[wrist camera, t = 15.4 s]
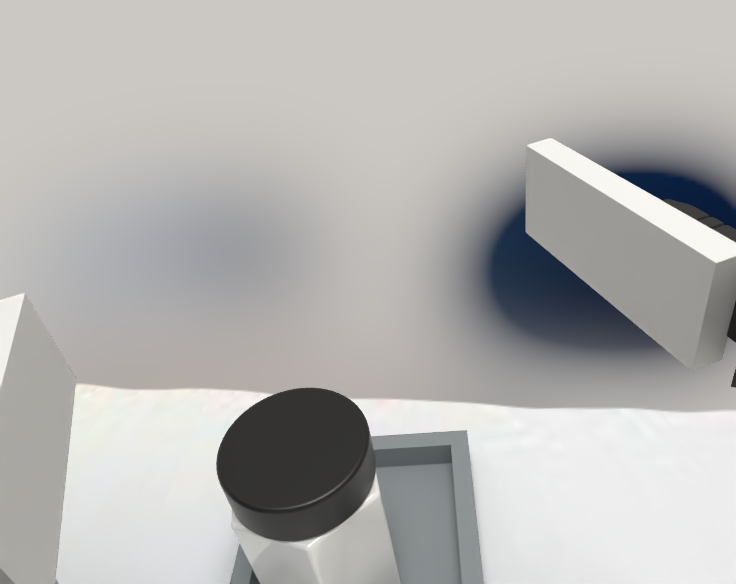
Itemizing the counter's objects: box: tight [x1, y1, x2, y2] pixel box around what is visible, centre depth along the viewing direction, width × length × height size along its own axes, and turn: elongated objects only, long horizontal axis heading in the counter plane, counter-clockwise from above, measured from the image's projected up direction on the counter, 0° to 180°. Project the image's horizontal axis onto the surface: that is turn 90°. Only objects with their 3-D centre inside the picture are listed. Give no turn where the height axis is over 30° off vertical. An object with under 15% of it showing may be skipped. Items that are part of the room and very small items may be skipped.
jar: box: [216, 388, 401, 584], centre depth 35 cm, size 9×8×12 cm
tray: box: [230, 430, 483, 584], centre depth 38 cm, size 15×15×3 cm
